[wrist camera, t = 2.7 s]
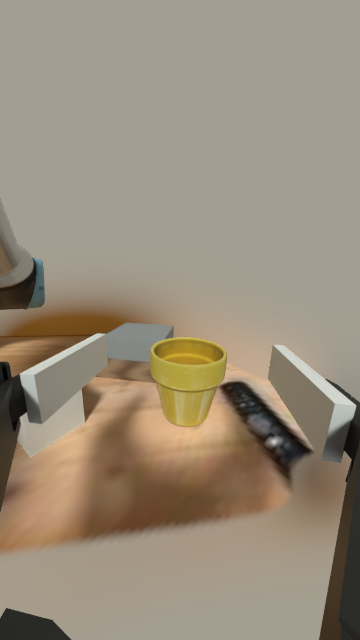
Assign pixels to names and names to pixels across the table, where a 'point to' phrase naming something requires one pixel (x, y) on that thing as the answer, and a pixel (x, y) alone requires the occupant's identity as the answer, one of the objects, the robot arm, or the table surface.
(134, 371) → the walnut base slab
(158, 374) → the plant pot
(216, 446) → the table surface
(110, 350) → the gray square slab
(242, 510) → the table surface
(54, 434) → the matte white cube
